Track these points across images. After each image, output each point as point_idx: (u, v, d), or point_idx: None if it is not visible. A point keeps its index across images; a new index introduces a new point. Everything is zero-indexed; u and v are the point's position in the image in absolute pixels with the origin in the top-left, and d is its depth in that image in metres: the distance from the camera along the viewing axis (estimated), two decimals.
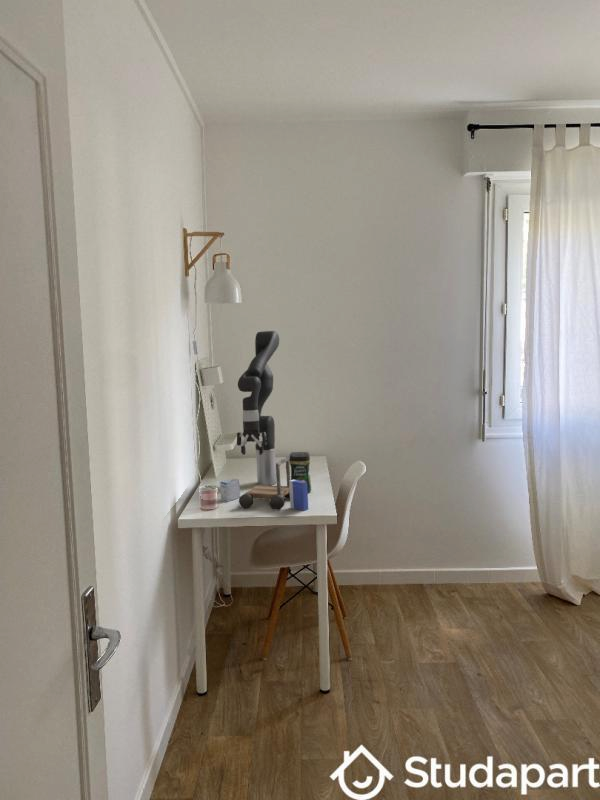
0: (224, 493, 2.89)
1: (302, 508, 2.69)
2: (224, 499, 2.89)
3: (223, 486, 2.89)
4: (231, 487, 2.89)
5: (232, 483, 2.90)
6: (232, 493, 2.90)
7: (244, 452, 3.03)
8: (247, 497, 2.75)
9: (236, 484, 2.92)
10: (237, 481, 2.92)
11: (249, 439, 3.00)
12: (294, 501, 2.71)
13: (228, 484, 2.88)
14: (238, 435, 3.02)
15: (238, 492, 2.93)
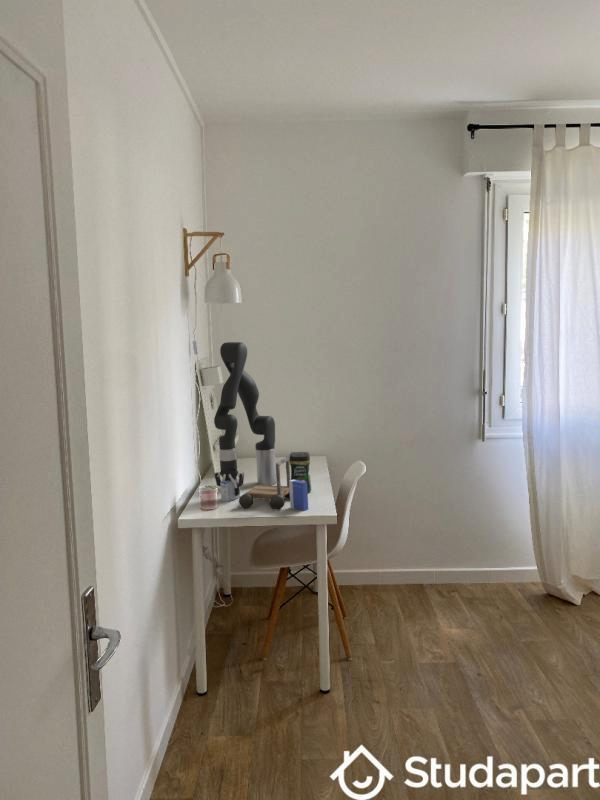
0: (224, 493, 2.89)
1: (302, 508, 2.69)
2: (224, 499, 2.89)
3: (223, 486, 2.89)
4: (231, 487, 2.89)
5: (232, 483, 2.90)
6: (232, 493, 2.90)
7: None
8: (247, 497, 2.75)
9: None
10: None
11: (227, 478, 2.90)
12: (294, 501, 2.71)
13: (228, 484, 2.88)
14: (216, 476, 2.92)
15: None
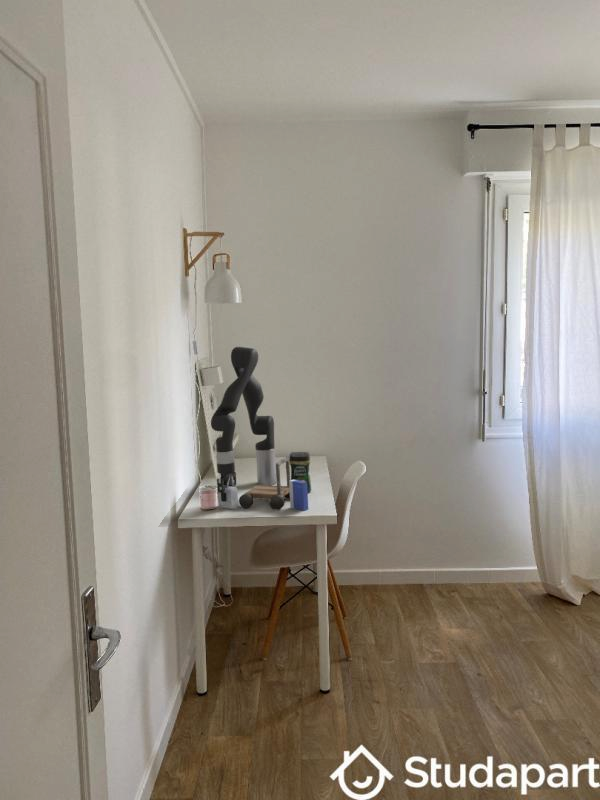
0: None
1: (302, 508, 2.69)
2: None
3: None
4: None
5: None
6: None
7: None
8: (247, 497, 2.75)
9: (227, 493, 2.76)
10: (228, 491, 2.75)
11: None
12: (294, 501, 2.71)
13: None
14: None
15: (229, 503, 2.76)
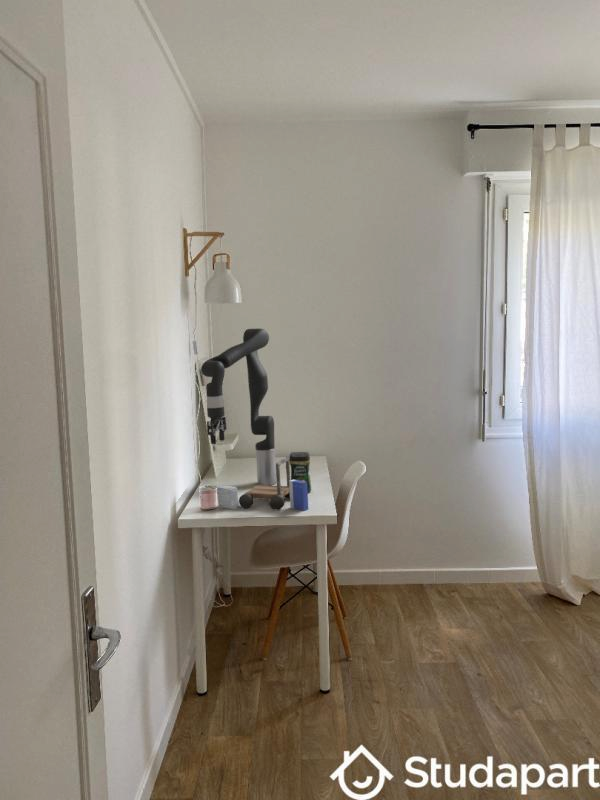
0: None
1: (302, 508, 2.69)
2: None
3: None
4: (221, 494, 2.78)
5: (223, 491, 2.77)
6: (223, 500, 2.78)
7: (221, 438, 2.93)
8: (247, 497, 2.75)
9: (227, 493, 2.76)
10: (228, 491, 2.75)
11: None
12: (294, 501, 2.71)
13: (218, 490, 2.79)
14: None
15: (229, 503, 2.76)
